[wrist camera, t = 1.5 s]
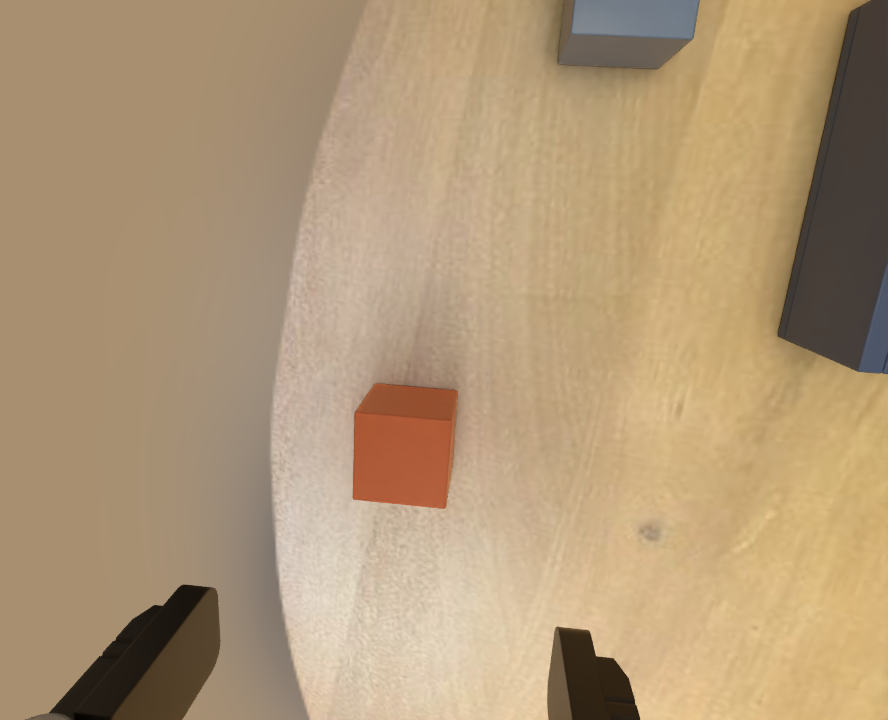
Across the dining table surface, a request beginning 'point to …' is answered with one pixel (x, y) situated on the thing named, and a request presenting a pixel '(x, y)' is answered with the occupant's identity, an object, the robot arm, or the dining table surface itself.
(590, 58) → the blue block
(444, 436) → the terracotta block
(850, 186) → the blue bin
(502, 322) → the dining table surface
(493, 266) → the dining table surface
